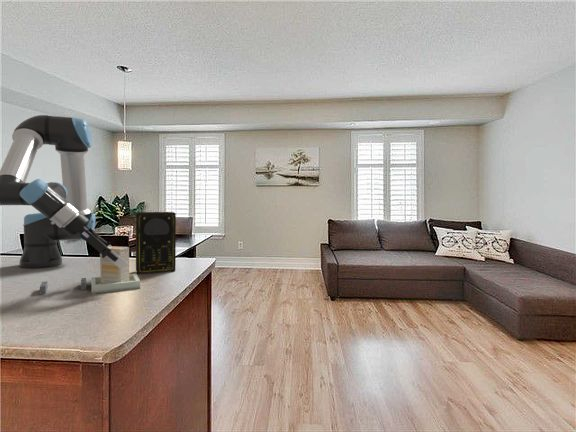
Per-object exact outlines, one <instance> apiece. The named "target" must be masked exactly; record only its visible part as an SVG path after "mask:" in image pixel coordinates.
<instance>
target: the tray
mask: <svg viewBox="0 0 576 432" xmlns="http://www.w3.org/2000/svg"><path fill="white" fill-rule="evenodd" d="M90 281H91V282H90V283H91V294H92V295H93V294H101V293H109V292H118V291H119V292H120V291H129V290H137V289H141V279H140V277H139V276H138V274H137V273H129V281H128V282H118V283H108V284H101V276H92V277H91V279H90Z"/></svg>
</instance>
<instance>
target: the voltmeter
mask: <svg viewBox="0 0 576 432" xmlns="http://www.w3.org/2000/svg"><path fill="white" fill-rule="evenodd" d="M176 214H177V213H175V212H174V211H136V212H135V213H134V216H135V217H134V226H135V271H136V274H137V275H148V274H159V273H167V272H168V273H170V272H175V271H176V256H177V255H176V253H177V252H176V244H177V243H176V242H177V241H176V239H177V238H176V237H177V235H176V231H177V230H176V228H177V227H176V220H177V219H176V217H177V216H176Z"/></svg>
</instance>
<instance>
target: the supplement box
mask: <svg viewBox="0 0 576 432" xmlns="http://www.w3.org/2000/svg"><path fill="white" fill-rule="evenodd" d="M108 248H109V249H111V250H112V251H113V252H115V253H116V254H117V255H118V256H120V257H121V258H122V259H123V260H124V261H126V262H127V264H126V265H125V266H124V267H123V268H122V269H120V268H119V267H118V266H116V265H115V264H114V263H113V262H111V261H110V260H109V259H108V258H106V257H104V258H102V257H101V256H102V254H101V253H100V252H99V258H100V259H99V262H100V263H99V267H100V269H99V270H100V277H101V284H108V283H118V282H128V281H129V274H130V247H129V246H116V245H115V246H112V245H111V246H108Z"/></svg>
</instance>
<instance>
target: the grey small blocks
mask: <svg viewBox="0 0 576 432" xmlns="http://www.w3.org/2000/svg"><path fill="white" fill-rule="evenodd" d="M48 283H49V282H48V281H41V284H40V285H39V295H46V294H47V291H48ZM80 290H81V291H86V290H87V277H81V278H80Z"/></svg>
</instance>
